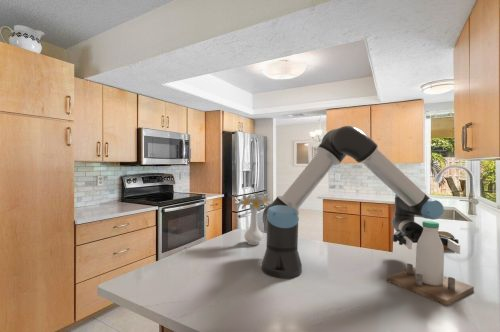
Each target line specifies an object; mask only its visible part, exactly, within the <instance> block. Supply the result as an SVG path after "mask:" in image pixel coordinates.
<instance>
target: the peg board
mask: <svg viewBox="0 0 500 332" xmlns="http://www.w3.org/2000/svg"><path fill="white" fill-rule="evenodd" d="M413 266H414V265H413V264H412V263H406V270H403V271H400V272H397V273H394V274H392V275H389V276H387V277H386V278H387V282H389V281H390V282H389V283H391V282H392V283H391V284H394V285H396V284H397V285H396V286H398V287H401V286H402V287H401V288H403V287H404V289H405V290H408V289H409V290H408V291H411V292H413V291H414V293H415V292H416V293H415V294H418V293H419V294H418V295H420V294H421V296H423V295H424V296H423V297H425V296H426V297H425V298H428V299H430V300H432V299H433V301H435V302H437V303H441V304H442V305H444V306H448V305H451V304H452V303H455V302H456V301H458V300H460V299H461V298H463V297H465V296H468V295H469V294H471V293H472V292H474V289H475V286H473V285H470V284H467V283H464V282H461V281H458V280H456V279H455V278H454V277H451V276H448V277H446V276H444V275H443V284H442V285H440V286H433V285H428V284H424V283H422V276H423V275H421V274H416V266H415V267H413Z"/></svg>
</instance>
